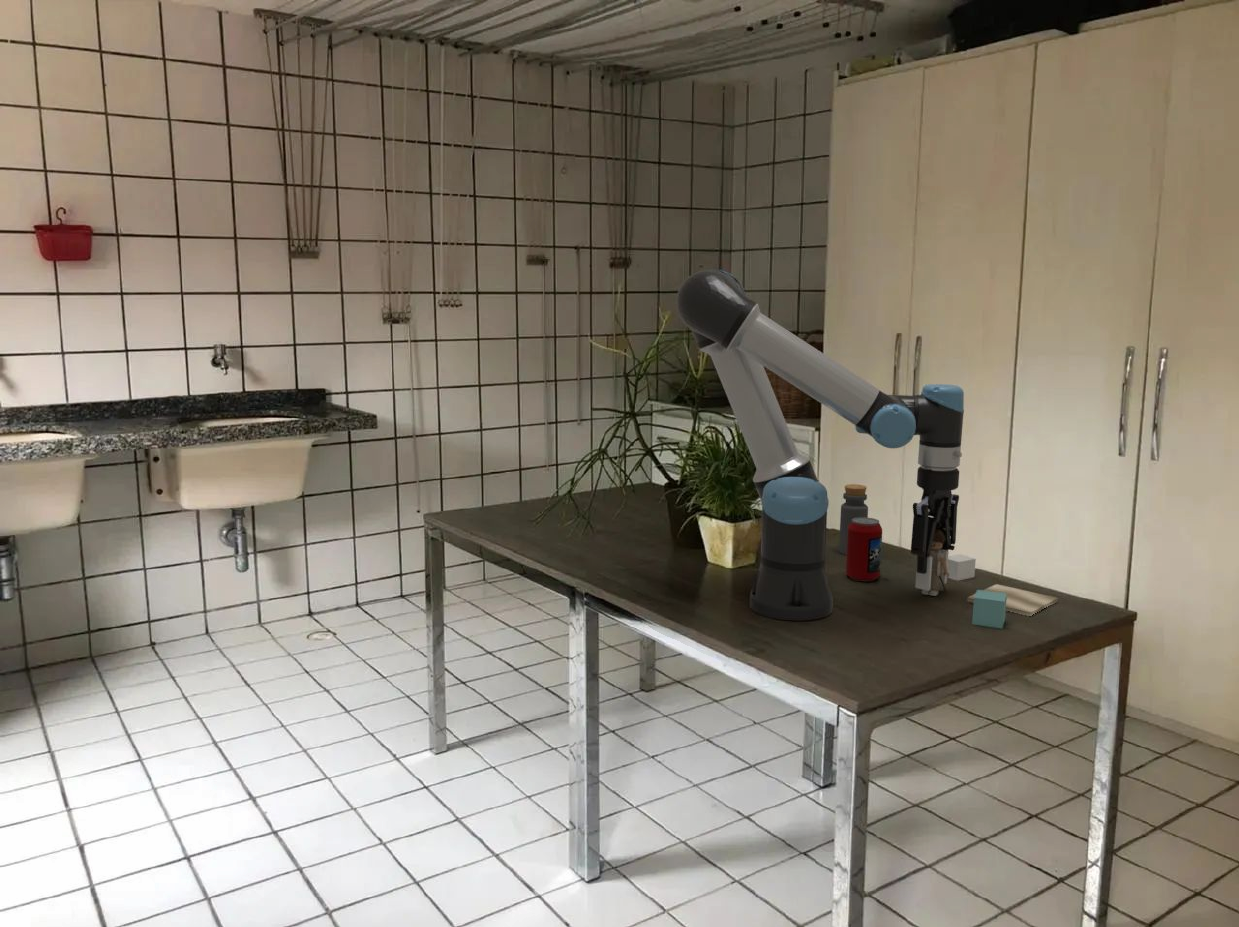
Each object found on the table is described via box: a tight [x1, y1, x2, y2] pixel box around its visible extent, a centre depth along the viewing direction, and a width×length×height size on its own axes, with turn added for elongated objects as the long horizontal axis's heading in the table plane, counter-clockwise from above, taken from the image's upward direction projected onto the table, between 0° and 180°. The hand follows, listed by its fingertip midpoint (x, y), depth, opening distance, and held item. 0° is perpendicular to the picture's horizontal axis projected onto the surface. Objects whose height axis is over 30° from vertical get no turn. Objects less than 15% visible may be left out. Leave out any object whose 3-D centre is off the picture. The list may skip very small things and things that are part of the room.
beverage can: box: [845, 517, 883, 582], centre depth 202 cm, size 7×7×12 cm
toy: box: [921, 524, 953, 597], centre depth 192 cm, size 6×6×15 cm
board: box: [966, 583, 1059, 617], centre depth 188 cm, size 12×12×1 cm
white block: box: [947, 553, 977, 581], centre depth 204 cm, size 5×4×4 cm
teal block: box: [971, 589, 1007, 630], centre depth 177 cm, size 5×5×5 cm
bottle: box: [838, 483, 869, 556], centre depth 221 cm, size 6×6×15 cm
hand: (931, 585), depth 192 cm, fingers closed on toy, 6 cm apart
